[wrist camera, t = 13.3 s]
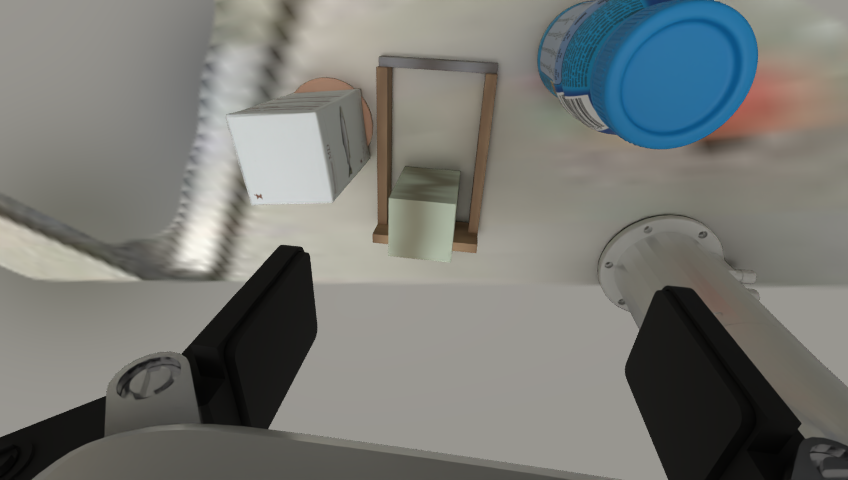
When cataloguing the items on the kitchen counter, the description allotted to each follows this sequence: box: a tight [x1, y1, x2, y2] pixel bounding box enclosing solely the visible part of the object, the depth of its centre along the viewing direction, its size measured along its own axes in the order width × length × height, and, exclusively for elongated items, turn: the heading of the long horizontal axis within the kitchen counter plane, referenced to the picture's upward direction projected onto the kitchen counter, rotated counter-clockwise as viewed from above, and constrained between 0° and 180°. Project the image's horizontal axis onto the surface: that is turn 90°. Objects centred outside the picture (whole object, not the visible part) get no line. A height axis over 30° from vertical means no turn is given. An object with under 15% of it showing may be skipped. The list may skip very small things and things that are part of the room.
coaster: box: [295, 78, 373, 146], centre depth 42 cm, size 9×9×1 cm
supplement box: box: [226, 89, 370, 205], centre depth 36 cm, size 7×7×13 cm
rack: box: [373, 56, 498, 262], centre depth 38 cm, size 11×18×9 cm, turn 177°
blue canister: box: [537, 0, 758, 149], centre depth 27 cm, size 8×8×20 cm
